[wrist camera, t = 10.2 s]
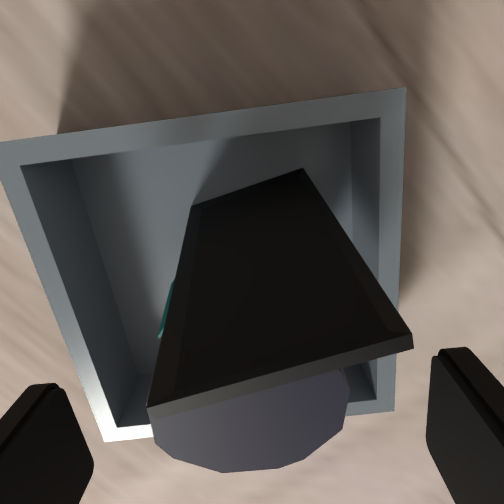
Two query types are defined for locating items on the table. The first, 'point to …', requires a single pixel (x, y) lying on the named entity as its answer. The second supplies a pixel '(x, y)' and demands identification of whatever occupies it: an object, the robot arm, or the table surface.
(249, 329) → the speaker
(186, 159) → the open box
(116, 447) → the table surface
